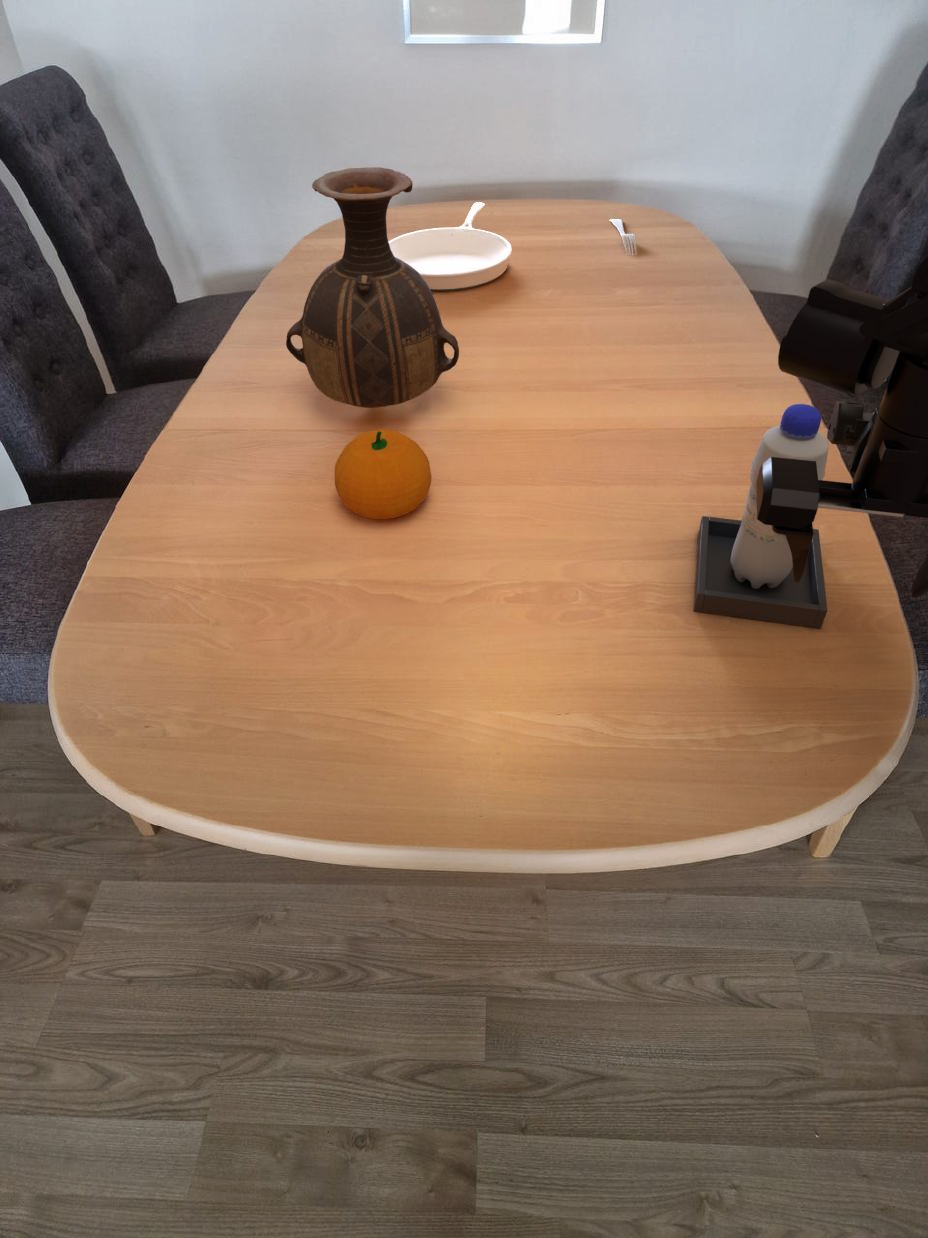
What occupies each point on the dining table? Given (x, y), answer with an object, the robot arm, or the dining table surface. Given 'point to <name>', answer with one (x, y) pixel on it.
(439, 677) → the dining table surface
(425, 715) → the dining table surface
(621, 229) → the fork
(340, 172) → the vase
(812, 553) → the tray
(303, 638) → the dining table surface
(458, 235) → the pan
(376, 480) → the fruit
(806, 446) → the bottle
